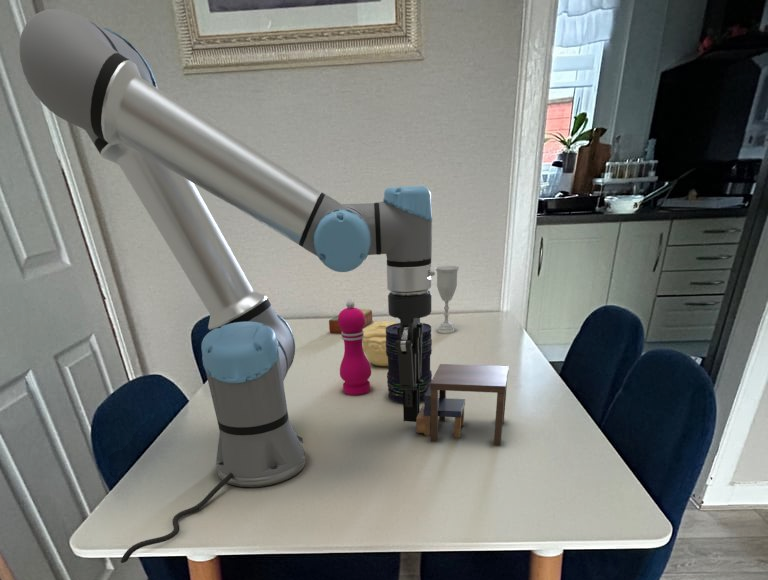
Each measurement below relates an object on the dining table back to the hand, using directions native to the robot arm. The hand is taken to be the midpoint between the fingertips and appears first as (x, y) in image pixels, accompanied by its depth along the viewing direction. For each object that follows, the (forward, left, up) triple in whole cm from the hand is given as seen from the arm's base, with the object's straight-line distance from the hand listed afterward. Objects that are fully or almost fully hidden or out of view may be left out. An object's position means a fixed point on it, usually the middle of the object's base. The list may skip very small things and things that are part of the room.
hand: (411, 418), depth 105 cm
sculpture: (+40, +15, -2) cm, 43 cm away
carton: (+75, +35, -2) cm, 83 cm away
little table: (0, -11, -2) cm, 11 cm away
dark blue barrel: (+17, +4, -2) cm, 18 cm away
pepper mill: (+19, +17, -2) cm, 26 cm away
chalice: (+73, +4, -2) cm, 73 cm away
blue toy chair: (0, -6, -2) cm, 6 cm away
